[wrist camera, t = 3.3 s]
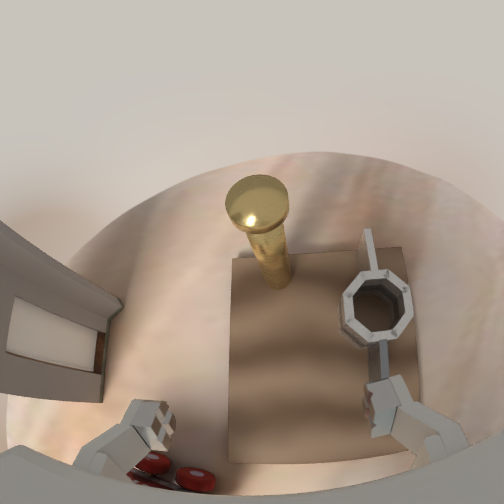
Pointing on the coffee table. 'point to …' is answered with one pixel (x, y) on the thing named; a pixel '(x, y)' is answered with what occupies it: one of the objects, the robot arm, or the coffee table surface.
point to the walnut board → (307, 362)
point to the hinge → (388, 292)
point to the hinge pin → (263, 224)
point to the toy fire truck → (160, 464)
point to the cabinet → (50, 326)
